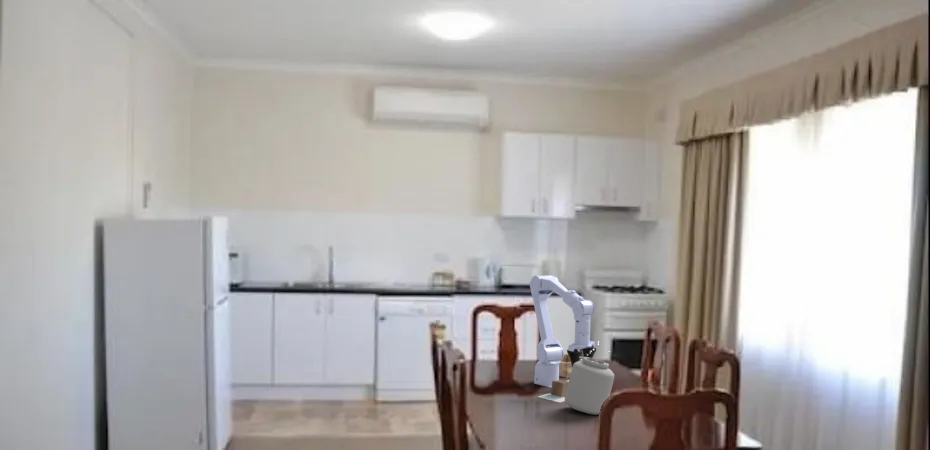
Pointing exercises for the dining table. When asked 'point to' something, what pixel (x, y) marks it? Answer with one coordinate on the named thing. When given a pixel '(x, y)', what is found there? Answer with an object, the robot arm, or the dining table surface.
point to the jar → (589, 385)
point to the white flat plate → (553, 398)
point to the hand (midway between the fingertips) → (581, 367)
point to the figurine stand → (566, 366)
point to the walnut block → (559, 388)
